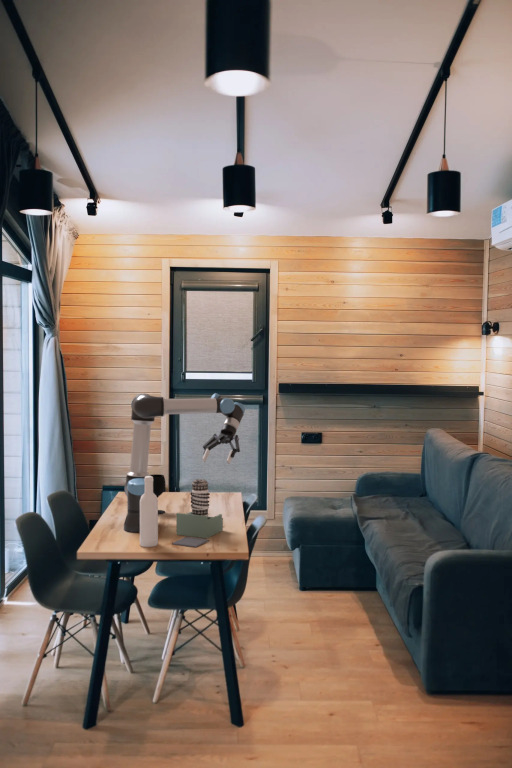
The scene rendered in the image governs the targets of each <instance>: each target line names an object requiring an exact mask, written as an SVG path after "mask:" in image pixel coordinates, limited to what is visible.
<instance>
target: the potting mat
mask: <svg viewBox="0 0 512 768" xmlns="http://www.w3.org/2000/svg"><path fill="white" fill-rule="evenodd" d="M208 542H210V539H209V538H207V539H206V538H198V537H191V536H183V537H181V538H180V539H178V540H176V541H174V542H172V543H171V545H175V546H180V547H189V548H198V547H200V546H202V545H204V544H206V543H208Z"/></svg>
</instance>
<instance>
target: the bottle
mask: <svg viewBox="0 0 512 768" xmlns="http://www.w3.org/2000/svg"><path fill="white" fill-rule="evenodd" d="M144 481H145V493H144V494H143V495H142V496H141V499H140V532H139V545H140V547H143V548H153V547H157V546H158V544H159V533H158V532H159V524H158V523H159V515H158V510H159V506H158V505H159V499H158V498H157V496H156V495H155V494H154V493H153V477H152V476H146V477H145V479H144Z"/></svg>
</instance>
